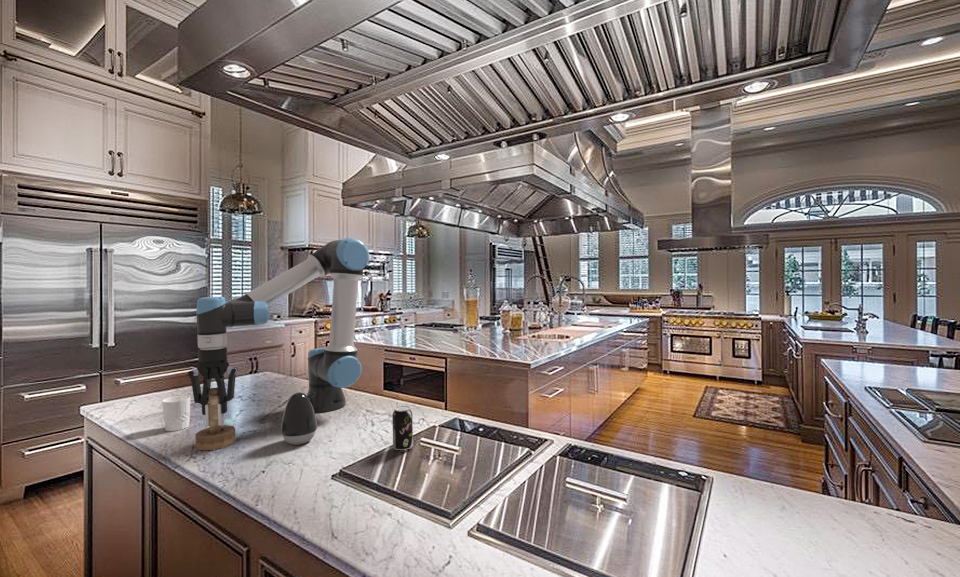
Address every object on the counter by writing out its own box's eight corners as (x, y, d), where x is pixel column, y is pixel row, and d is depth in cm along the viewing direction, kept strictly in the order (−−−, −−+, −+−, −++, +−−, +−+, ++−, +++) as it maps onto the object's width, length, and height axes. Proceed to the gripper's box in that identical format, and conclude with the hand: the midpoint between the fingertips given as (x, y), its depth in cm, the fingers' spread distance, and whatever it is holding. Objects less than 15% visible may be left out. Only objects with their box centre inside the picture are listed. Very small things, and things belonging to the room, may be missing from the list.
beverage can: (416, 445, 127) (415, 405, 126) (407, 453, 121) (406, 411, 121) (399, 443, 129) (398, 404, 128) (389, 451, 123) (388, 410, 123)
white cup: (196, 424, 149) (195, 395, 149) (178, 432, 141) (177, 402, 141) (176, 423, 150) (175, 395, 150) (156, 431, 142) (155, 402, 142)
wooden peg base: (239, 436, 137) (239, 424, 136) (227, 448, 127) (227, 435, 127) (205, 439, 135) (204, 426, 135) (190, 452, 125) (189, 438, 125)
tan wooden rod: (223, 438, 132) (221, 387, 132) (219, 442, 130) (217, 389, 129) (212, 439, 132) (210, 387, 131) (208, 443, 129) (206, 390, 128)
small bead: (236, 428, 145) (235, 418, 145) (229, 434, 139) (229, 424, 139) (216, 429, 143) (216, 419, 143) (209, 436, 138) (208, 425, 138)
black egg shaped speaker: (324, 440, 132) (322, 391, 132) (290, 451, 124) (288, 399, 124) (308, 432, 139) (307, 386, 139) (275, 442, 131) (274, 393, 131)
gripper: (177, 351, 125) (180, 431, 125) (236, 348, 128) (239, 426, 128) (189, 347, 132) (192, 422, 133) (245, 344, 135) (247, 418, 136)
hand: (215, 424), depth 131 cm, fingers closed on tan wooden rod, 3 cm apart
